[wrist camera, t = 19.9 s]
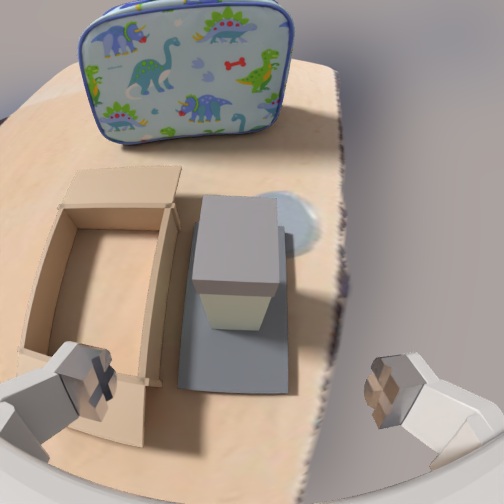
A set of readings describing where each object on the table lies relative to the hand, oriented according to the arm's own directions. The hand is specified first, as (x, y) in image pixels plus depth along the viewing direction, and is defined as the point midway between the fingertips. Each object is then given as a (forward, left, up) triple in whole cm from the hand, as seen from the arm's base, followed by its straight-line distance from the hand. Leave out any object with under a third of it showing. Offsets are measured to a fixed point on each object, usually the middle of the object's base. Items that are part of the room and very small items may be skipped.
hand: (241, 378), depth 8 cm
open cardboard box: (+7, +13, -16) cm, 22 cm away
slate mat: (+7, 0, -16) cm, 18 cm away
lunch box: (+34, +8, -16) cm, 39 cm away
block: (+7, 0, -15) cm, 17 cm away
